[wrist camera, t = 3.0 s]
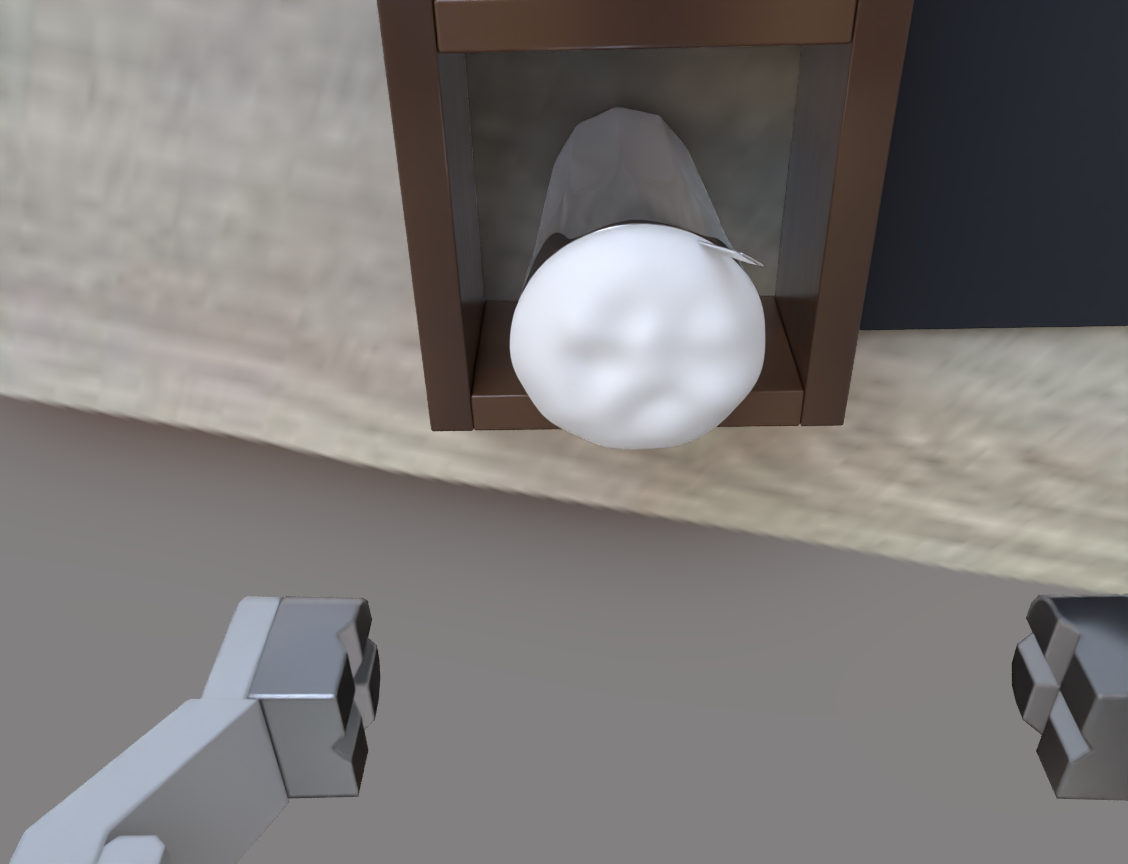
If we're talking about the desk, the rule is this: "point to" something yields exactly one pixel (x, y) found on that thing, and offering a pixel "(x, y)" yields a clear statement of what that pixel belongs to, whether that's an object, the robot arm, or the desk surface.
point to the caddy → (649, 21)
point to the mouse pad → (1006, 170)
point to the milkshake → (634, 294)
